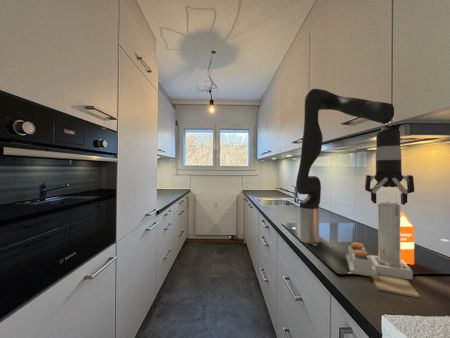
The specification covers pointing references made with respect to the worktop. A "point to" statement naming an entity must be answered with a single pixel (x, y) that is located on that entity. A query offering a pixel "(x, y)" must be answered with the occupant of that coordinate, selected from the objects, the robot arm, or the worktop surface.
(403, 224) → the orange juice
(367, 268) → the housing
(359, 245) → the plunger
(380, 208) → the silver metal cylinder
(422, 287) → the worktop surface
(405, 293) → the mat
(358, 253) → the plunger
